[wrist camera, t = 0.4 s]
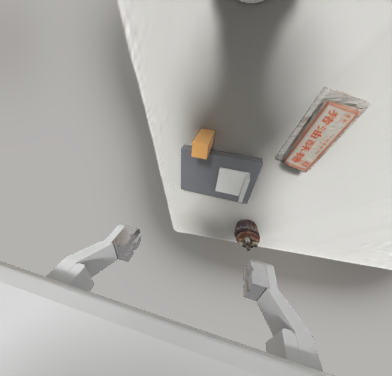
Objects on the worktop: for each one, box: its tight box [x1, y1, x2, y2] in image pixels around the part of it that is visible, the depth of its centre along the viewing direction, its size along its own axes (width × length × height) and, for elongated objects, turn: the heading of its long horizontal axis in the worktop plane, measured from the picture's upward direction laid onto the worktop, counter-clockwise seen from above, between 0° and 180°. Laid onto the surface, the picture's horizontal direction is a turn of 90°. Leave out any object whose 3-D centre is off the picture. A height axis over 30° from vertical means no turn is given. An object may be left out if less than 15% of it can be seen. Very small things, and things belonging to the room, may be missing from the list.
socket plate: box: [181, 145, 263, 204], centre depth 52 cm, size 16×24×3 cm, turn 86°
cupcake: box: [234, 220, 260, 251], centre depth 62 cm, size 10×10×10 cm
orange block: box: [191, 128, 215, 159], centre depth 42 cm, size 4×4×10 cm
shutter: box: [215, 167, 250, 203], centre depth 48 cm, size 9×9×4 cm
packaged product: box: [275, 87, 371, 172], centre depth 37 cm, size 18×5×10 cm
